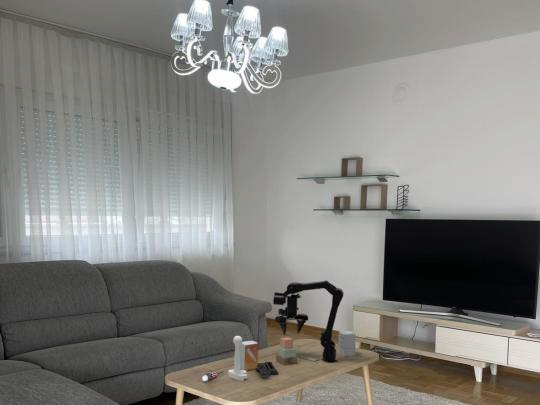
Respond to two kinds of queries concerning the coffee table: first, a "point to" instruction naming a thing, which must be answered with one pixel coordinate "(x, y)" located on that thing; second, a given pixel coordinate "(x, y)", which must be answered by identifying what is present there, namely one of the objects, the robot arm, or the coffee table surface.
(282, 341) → the terracotta cube
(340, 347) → the supplement box
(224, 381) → the coffee table surface
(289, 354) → the sage top block
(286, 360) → the walnut base block
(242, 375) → the joystick
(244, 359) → the small box
